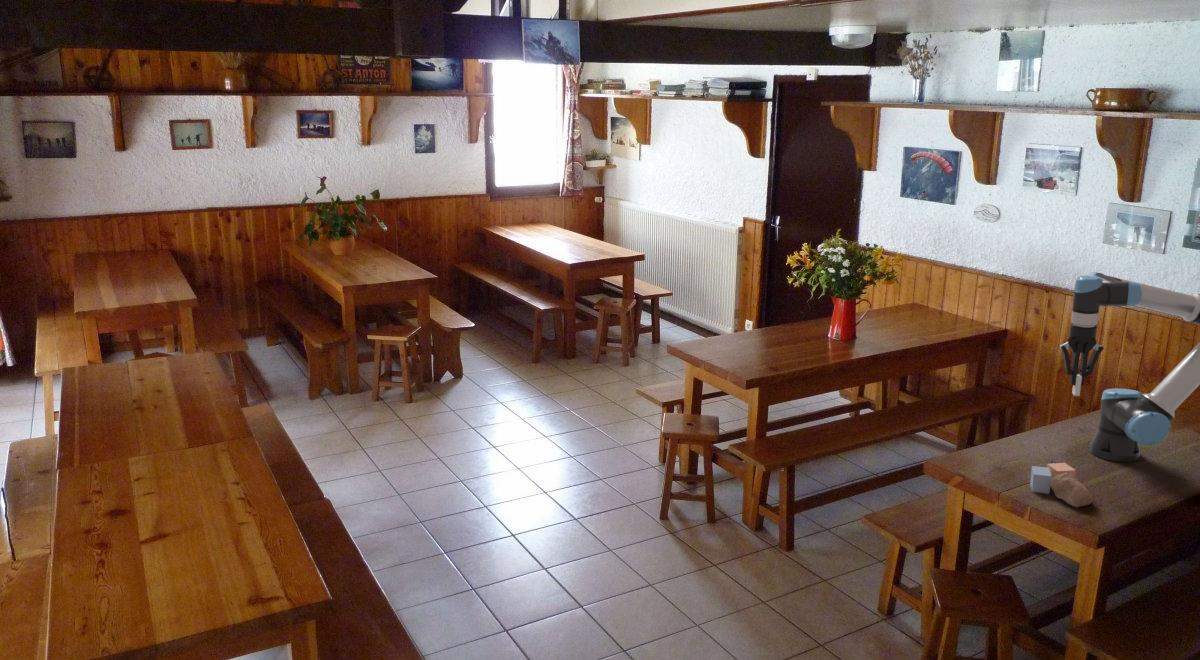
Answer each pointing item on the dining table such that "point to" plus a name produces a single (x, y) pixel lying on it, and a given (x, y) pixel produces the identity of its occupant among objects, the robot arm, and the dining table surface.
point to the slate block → (1040, 479)
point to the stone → (1071, 490)
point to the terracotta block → (1060, 469)
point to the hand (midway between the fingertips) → (1075, 394)
